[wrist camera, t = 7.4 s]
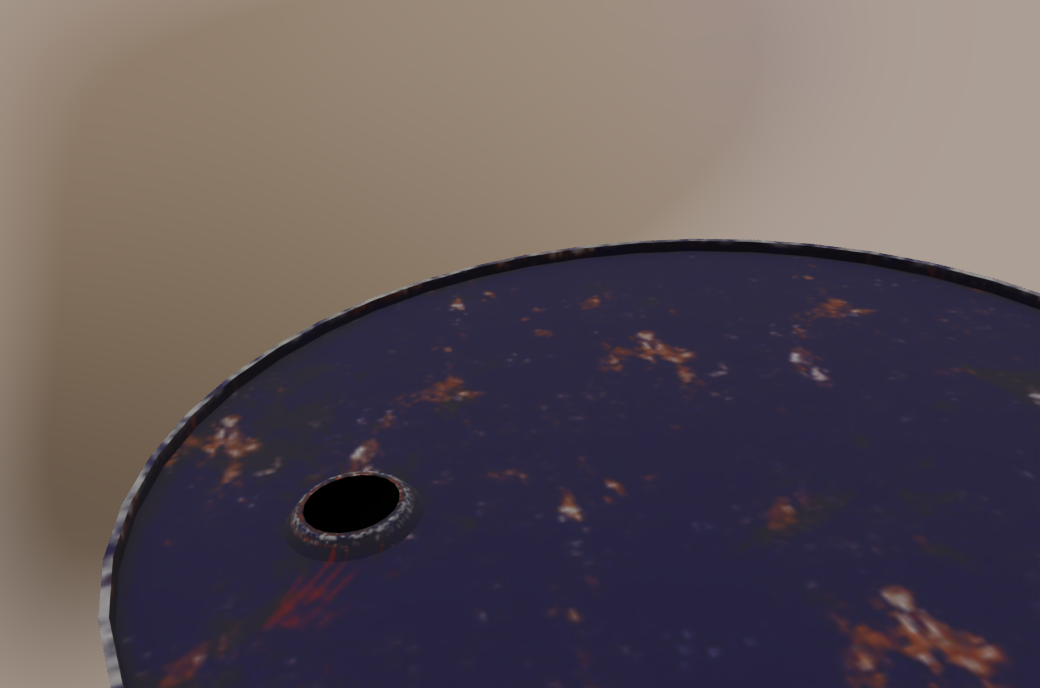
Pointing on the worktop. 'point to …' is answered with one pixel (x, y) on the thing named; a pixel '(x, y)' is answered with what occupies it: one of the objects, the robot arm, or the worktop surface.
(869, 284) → the rusty blue drum
